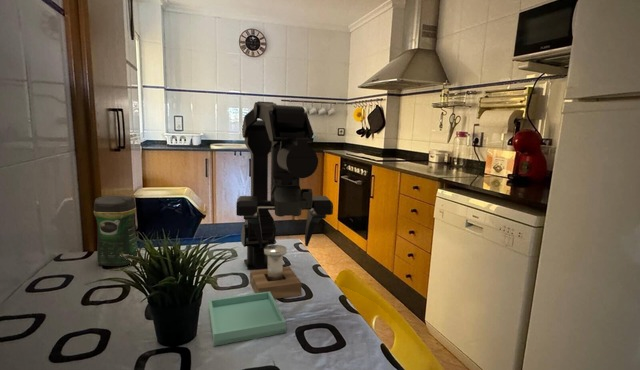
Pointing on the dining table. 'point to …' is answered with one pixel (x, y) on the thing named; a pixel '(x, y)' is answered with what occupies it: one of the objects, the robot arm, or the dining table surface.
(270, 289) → the block
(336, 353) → the dining table surface
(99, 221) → the coffee jar
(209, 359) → the dining table surface
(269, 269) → the steel pin
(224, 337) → the tray
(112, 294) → the dining table surface
